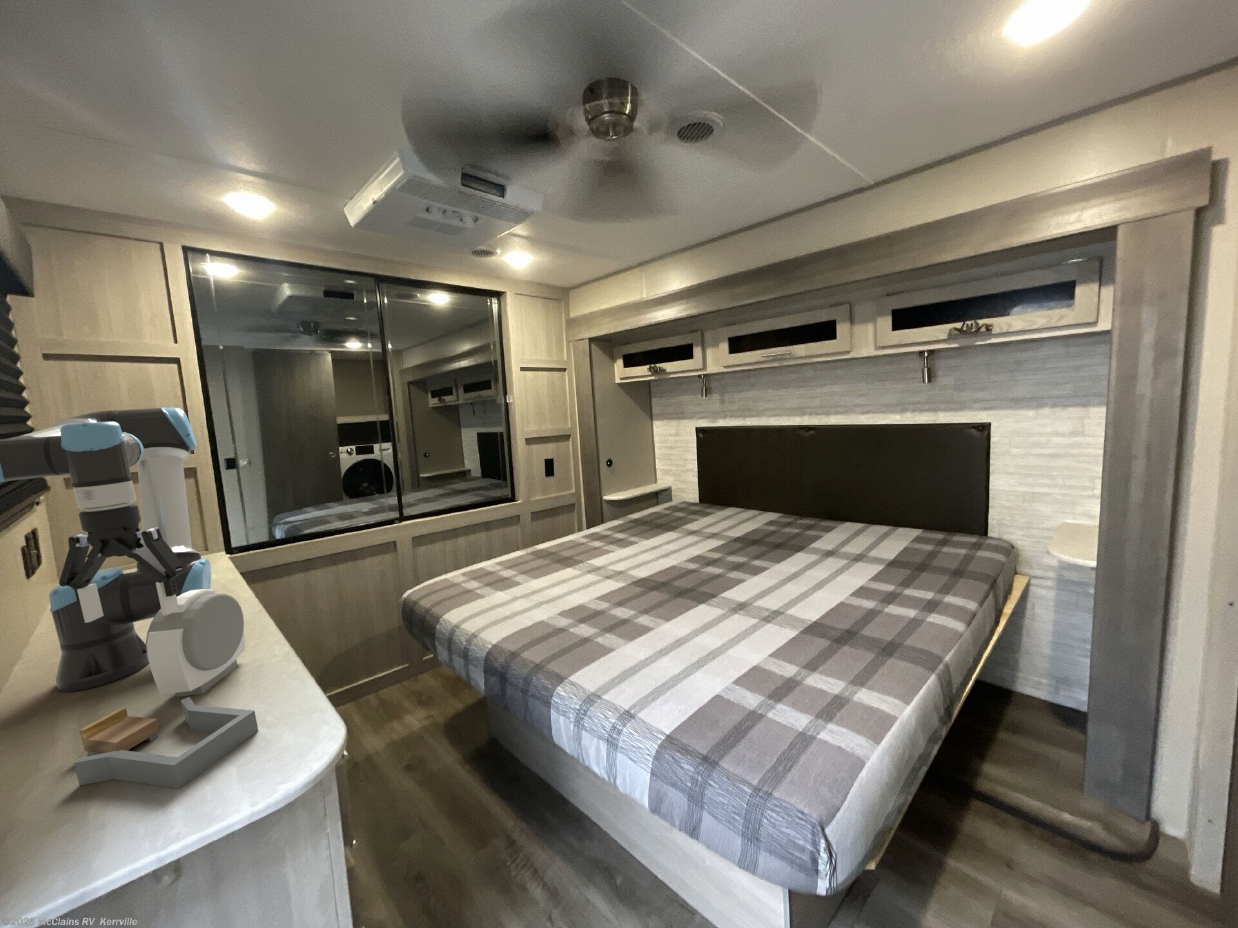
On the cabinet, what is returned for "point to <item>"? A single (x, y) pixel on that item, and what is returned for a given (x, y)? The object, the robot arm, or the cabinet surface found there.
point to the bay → (172, 770)
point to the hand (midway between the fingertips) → (132, 615)
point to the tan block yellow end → (117, 732)
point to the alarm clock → (195, 642)
